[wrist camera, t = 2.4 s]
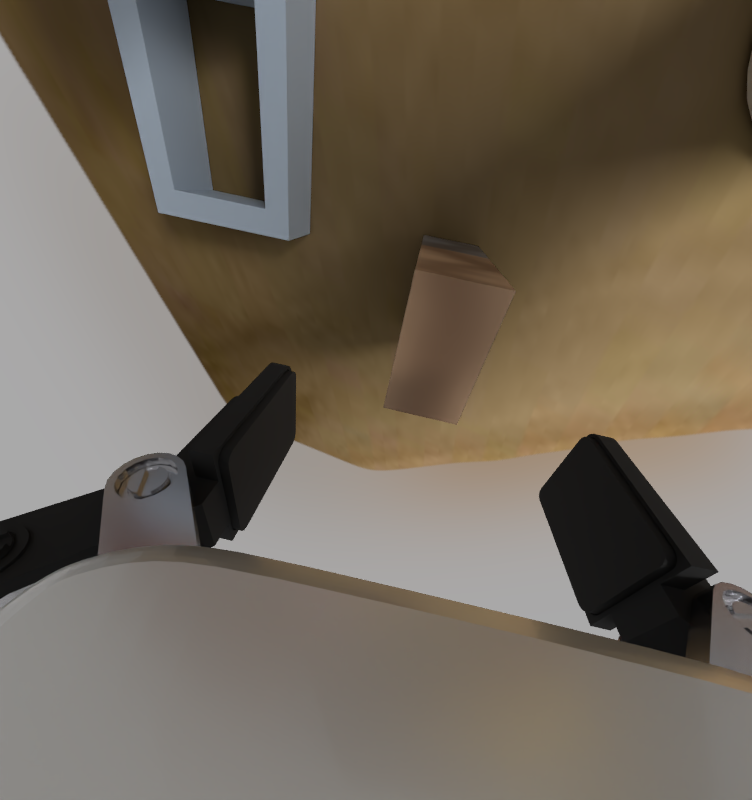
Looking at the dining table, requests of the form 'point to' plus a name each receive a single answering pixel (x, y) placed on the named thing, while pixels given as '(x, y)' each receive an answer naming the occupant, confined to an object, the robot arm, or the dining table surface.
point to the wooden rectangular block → (446, 329)
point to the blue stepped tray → (183, 121)
